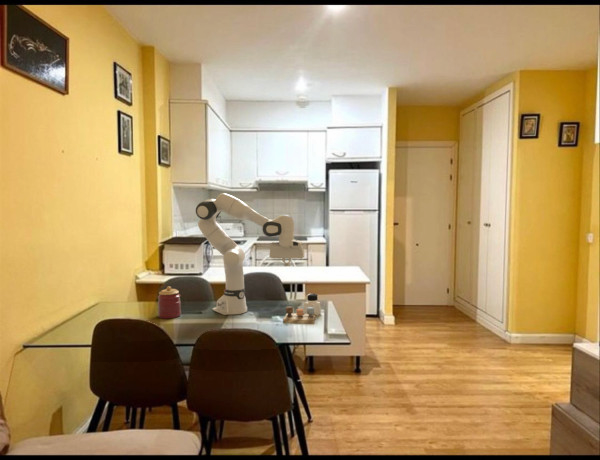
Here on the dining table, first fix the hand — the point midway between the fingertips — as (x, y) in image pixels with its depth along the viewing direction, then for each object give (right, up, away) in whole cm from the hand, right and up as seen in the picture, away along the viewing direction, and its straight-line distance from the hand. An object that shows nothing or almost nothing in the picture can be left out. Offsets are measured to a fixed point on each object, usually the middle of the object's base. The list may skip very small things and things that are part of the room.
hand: (286, 265), depth 232 cm
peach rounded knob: (+8, -29, -9) cm, 31 cm away
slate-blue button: (+14, -28, -10) cm, 32 cm away
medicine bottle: (+15, -29, +3) cm, 33 cm away
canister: (-69, -30, +2) cm, 76 cm away
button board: (+8, -30, -9) cm, 32 cm away
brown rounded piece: (+2, -28, -8) cm, 29 cm away
